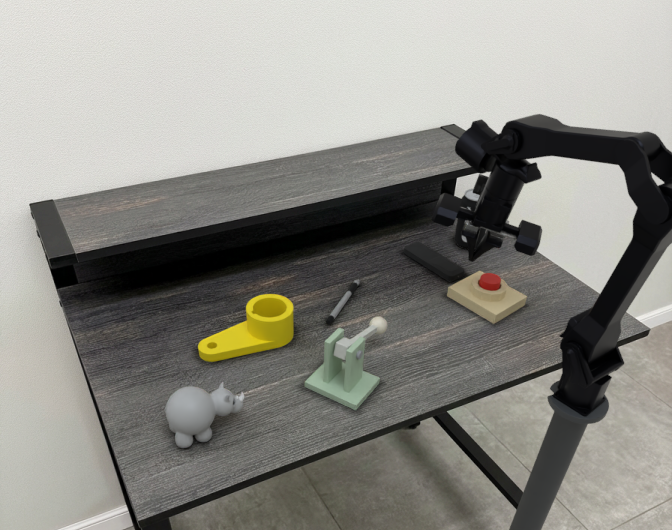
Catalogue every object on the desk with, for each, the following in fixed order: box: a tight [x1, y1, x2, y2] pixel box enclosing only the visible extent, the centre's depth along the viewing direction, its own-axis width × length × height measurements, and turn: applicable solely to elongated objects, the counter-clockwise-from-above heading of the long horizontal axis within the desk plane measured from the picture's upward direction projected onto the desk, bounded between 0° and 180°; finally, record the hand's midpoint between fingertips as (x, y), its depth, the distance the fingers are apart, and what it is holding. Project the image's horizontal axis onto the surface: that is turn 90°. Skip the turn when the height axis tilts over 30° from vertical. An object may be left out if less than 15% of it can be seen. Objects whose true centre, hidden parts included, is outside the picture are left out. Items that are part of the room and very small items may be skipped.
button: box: [479, 272, 502, 291], centre depth 123 cm, size 4×4×2 cm
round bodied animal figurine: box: [164, 381, 245, 449], centre depth 94 cm, size 7×12×8 cm, turn 114°
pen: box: [325, 278, 361, 325], centre depth 123 cm, size 1×16×1 cm, turn 158°
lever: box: [334, 316, 388, 361], centre depth 105 cm, size 15×3×3 cm, turn 148°
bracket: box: [304, 327, 381, 411], centre depth 103 cm, size 8×10×10 cm
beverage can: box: [453, 188, 487, 250], centre depth 139 cm, size 7×7×12 cm
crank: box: [197, 293, 295, 363], centre depth 111 cm, size 18×8×6 cm, turn 121°
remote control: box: [402, 241, 466, 283], centre depth 135 cm, size 5×2×15 cm
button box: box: [446, 270, 528, 325], centre depth 125 cm, size 12×10×4 cm
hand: (470, 259), depth 115 cm, fingers closed
